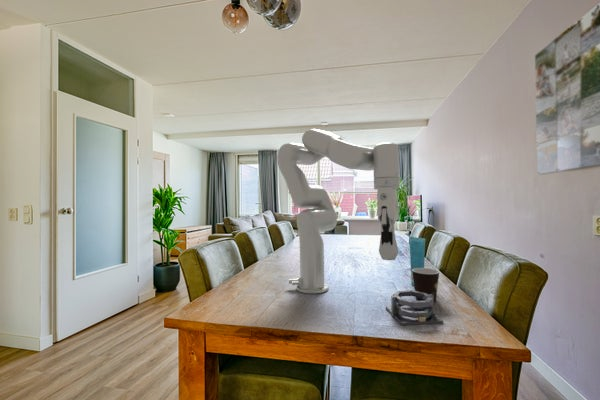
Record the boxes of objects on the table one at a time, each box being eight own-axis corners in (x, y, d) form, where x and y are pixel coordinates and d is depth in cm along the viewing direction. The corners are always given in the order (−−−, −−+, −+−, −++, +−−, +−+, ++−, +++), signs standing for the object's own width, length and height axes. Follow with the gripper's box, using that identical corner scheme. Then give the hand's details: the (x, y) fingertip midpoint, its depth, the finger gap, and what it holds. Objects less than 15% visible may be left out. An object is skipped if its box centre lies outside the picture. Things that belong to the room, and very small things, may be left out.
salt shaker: (399, 257, 89) (398, 216, 89) (397, 261, 84) (396, 217, 84) (380, 256, 92) (379, 216, 92) (377, 260, 86) (376, 217, 87)
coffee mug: (428, 306, 94) (427, 275, 94) (407, 298, 101) (406, 269, 101) (450, 299, 99) (450, 270, 99) (429, 292, 107) (429, 265, 107)
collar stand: (400, 325, 80) (400, 304, 80) (385, 308, 92) (384, 290, 92) (444, 323, 81) (444, 302, 81) (423, 307, 93) (422, 288, 93)
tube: (429, 285, 115) (428, 237, 115) (423, 288, 112) (422, 239, 112) (412, 281, 121) (411, 236, 121) (405, 283, 118) (405, 237, 118)
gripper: (395, 182, 79) (397, 249, 79) (403, 184, 94) (404, 241, 93) (367, 183, 82) (369, 247, 82) (379, 185, 97) (381, 240, 97)
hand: (388, 243), depth 88 cm, fingers closed on salt shaker, 3 cm apart
